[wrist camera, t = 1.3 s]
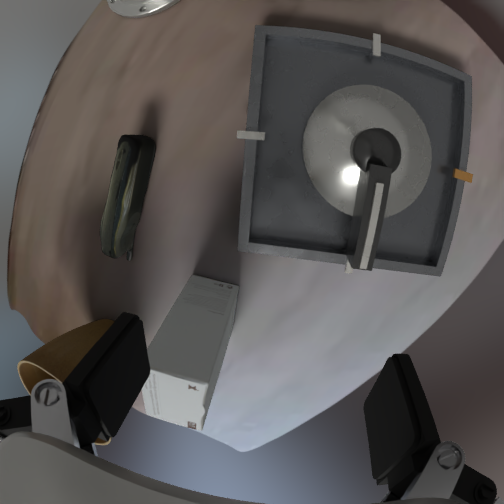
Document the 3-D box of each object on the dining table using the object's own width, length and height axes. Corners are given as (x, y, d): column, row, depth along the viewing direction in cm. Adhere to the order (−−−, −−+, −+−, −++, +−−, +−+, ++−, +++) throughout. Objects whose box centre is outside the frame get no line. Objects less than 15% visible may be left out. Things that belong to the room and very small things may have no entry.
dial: (307, 78, 22) (311, 62, 17) (427, 105, 20) (455, 100, 15) (291, 239, 28) (290, 262, 22) (403, 254, 26) (423, 278, 21)
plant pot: (163, 381, 41) (123, 458, 26) (90, 358, 42) (44, 418, 28) (150, 306, 35) (85, 392, 21) (69, 287, 37) (1, 345, 22)
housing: (252, 29, 21) (247, 17, 19) (464, 76, 19) (478, 72, 16) (235, 247, 30) (229, 258, 28) (434, 272, 28) (444, 284, 25)
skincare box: (192, 272, 32) (131, 358, 19) (243, 285, 32) (208, 383, 18) (187, 328, 36) (141, 415, 22) (232, 340, 35) (201, 435, 22)
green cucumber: (114, 132, 23) (95, 268, 28) (139, 138, 23) (116, 278, 28) (139, 133, 27) (117, 253, 33) (162, 138, 27) (136, 261, 33)
